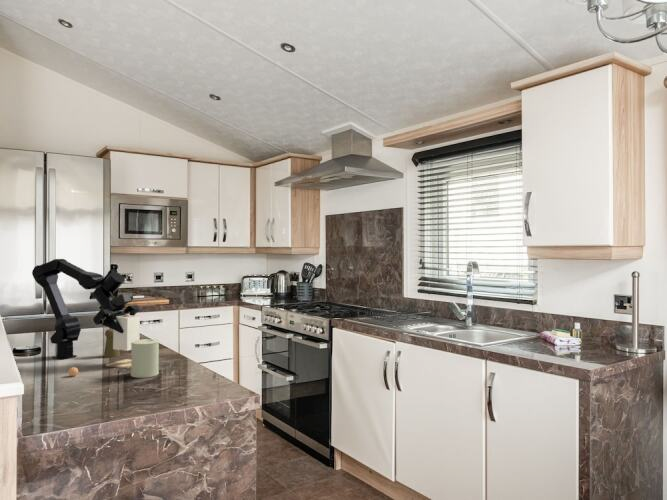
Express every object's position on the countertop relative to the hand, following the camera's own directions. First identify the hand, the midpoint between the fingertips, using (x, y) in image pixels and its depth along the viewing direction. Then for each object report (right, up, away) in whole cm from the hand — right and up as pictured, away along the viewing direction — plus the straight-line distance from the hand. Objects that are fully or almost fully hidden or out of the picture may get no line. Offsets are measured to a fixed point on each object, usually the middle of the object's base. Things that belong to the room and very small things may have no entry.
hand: (129, 331), depth 191 cm
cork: (-13, -13, +14) cm, 23 cm away
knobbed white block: (-1, -7, 0) cm, 7 cm away
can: (+11, -13, -14) cm, 22 cm away
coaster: (-1, -13, +1) cm, 13 cm away
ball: (-12, -13, -17) cm, 25 cm away
